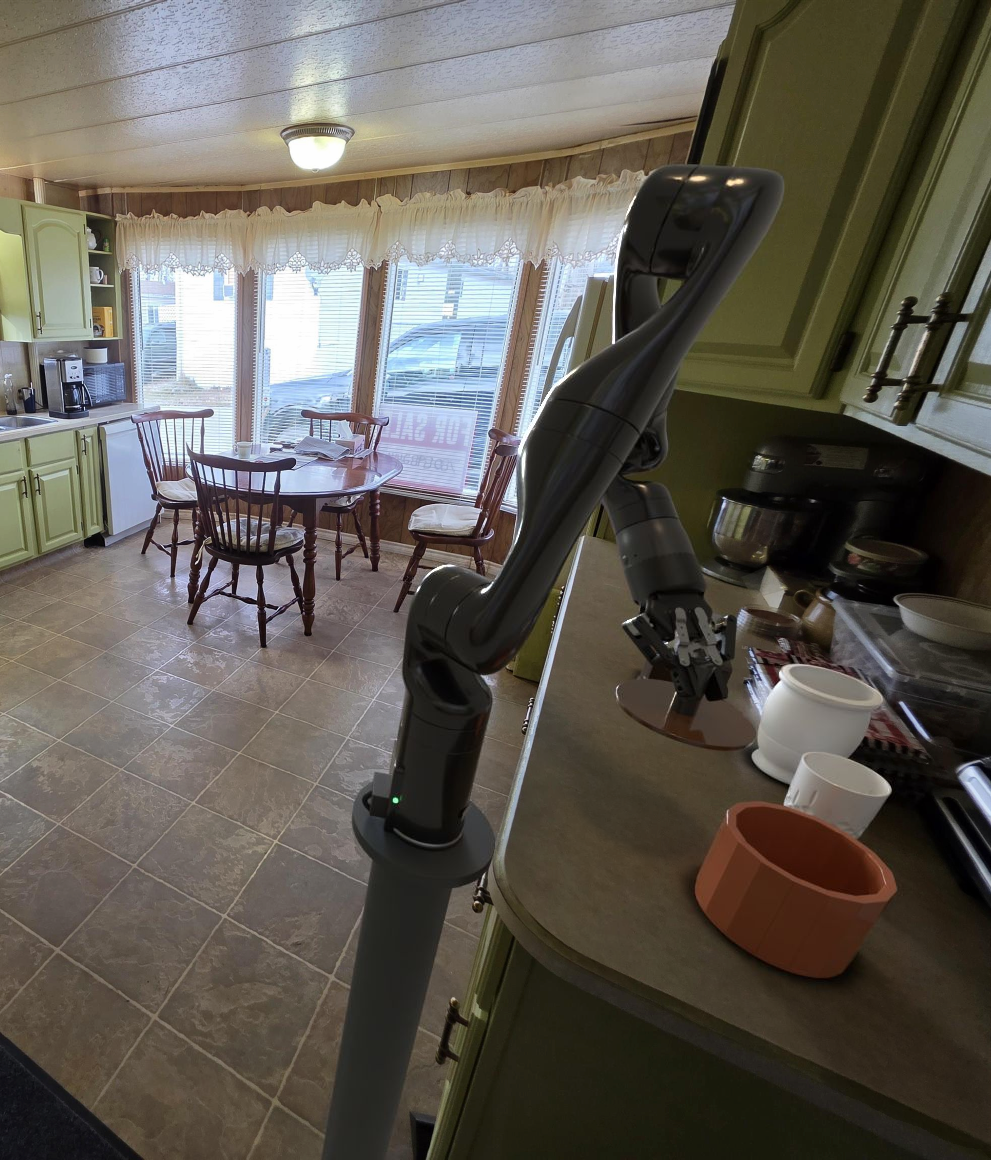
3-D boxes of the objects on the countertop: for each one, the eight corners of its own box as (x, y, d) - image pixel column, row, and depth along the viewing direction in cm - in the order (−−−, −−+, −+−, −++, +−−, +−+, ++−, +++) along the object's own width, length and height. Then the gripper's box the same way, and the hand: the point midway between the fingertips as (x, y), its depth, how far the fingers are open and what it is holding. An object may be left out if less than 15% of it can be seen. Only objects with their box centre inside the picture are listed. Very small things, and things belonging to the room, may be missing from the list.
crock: (726, 957, 62) (765, 882, 58) (676, 859, 73) (705, 790, 69) (880, 994, 59) (933, 918, 55) (803, 886, 70) (842, 816, 66)
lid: (634, 741, 69) (656, 682, 66) (599, 678, 81) (616, 627, 78) (778, 766, 66) (808, 706, 63) (719, 697, 78) (741, 644, 75)
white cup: (857, 837, 77) (893, 775, 73) (851, 871, 72) (890, 806, 68) (776, 803, 82) (806, 743, 78) (766, 832, 77) (797, 770, 74)
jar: (840, 807, 82) (892, 714, 76) (743, 774, 88) (784, 685, 82) (829, 766, 90) (875, 679, 84) (741, 738, 96) (778, 655, 90)
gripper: (628, 550, 72) (676, 695, 66) (734, 549, 74) (791, 692, 67) (586, 574, 79) (626, 708, 73) (684, 573, 80) (732, 704, 74)
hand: (705, 699), depth 70 cm, fingers closed on lid, 2 cm apart
